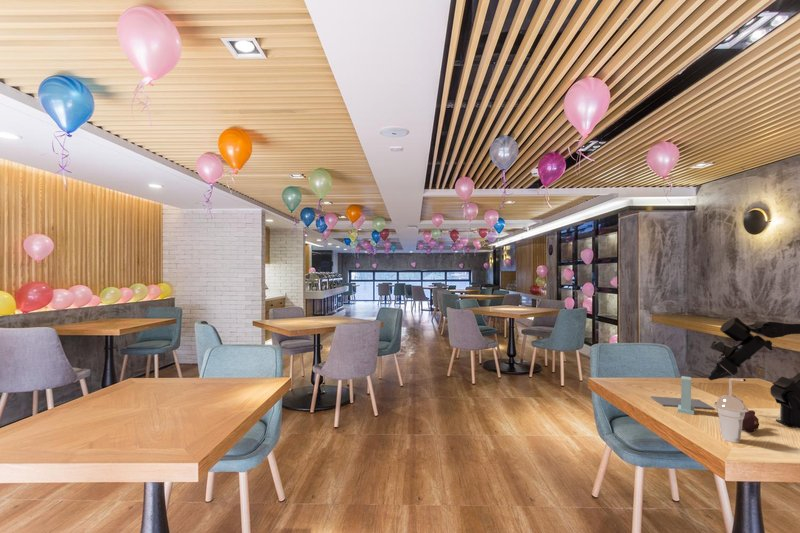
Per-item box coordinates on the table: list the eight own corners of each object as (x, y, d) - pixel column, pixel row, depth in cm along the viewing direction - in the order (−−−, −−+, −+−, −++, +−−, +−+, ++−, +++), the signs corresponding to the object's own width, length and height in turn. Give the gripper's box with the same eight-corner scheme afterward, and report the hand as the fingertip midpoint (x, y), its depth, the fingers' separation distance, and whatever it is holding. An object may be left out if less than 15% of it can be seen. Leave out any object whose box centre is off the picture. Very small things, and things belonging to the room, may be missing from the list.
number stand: (694, 410, 162) (694, 377, 162) (694, 414, 156) (694, 380, 156) (678, 407, 165) (678, 375, 165) (677, 412, 159) (678, 378, 159)
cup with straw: (743, 437, 134) (743, 373, 134) (753, 447, 125) (753, 379, 126) (710, 433, 137) (711, 370, 138) (718, 442, 129) (718, 376, 130)
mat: (714, 409, 163) (714, 408, 163) (663, 405, 166) (663, 404, 166) (698, 400, 175) (698, 399, 175) (651, 397, 178) (651, 396, 178)
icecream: (757, 418, 133) (768, 414, 142) (729, 407, 138) (741, 403, 148) (749, 439, 133) (761, 433, 143) (722, 426, 139) (734, 421, 149)
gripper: (726, 329, 163) (693, 356, 169) (722, 335, 149) (687, 364, 155) (754, 351, 157) (720, 378, 164) (754, 359, 143) (716, 388, 150)
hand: (710, 376), depth 158 cm, fingers open, 9 cm apart
